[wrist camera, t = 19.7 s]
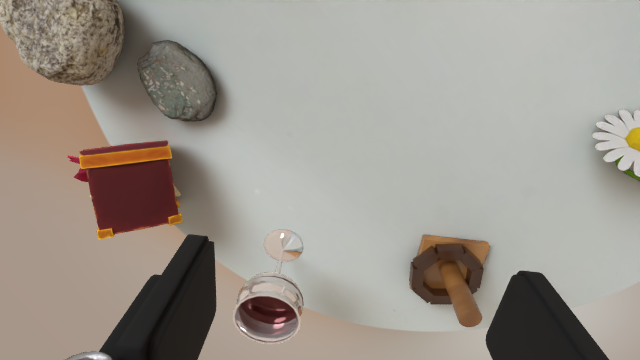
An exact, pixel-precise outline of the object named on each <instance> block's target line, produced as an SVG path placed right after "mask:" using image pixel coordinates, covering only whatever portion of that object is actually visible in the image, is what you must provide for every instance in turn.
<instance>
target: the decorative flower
mask: <svg viewBox="0 0 640 360" xmlns="http://www.w3.org/2000/svg"><path fill="white" fill-rule="evenodd" d="M619 115H620V117H621V118H622V120H623V122H624V123H623V122H622V121H621V120H619V119H618V118H617V117H615V116H613V115H611V114H609V115H606V116H605V119H606V120H607V121H608V122H609V123H611V124H612V125H611V124H608V123H606V122H598V123H596V127H598V128H599V129H602V130H604V131H607V132H610V133H612V134H610V133H602V132H597V133H593V135H592V137H593V139H596V140H603V141H608V142H601V143H598V144H596V145H595V149H597V150H598V151H605V150H610V149H615V150H613V151H611V152H609V153H608V154H606V155H605V156H604V157H603V159H604V161H605V162H608V163H609V162H613V161H615V160H616V164H617V167H618V169H619V170H620V171H623V172H625V173H626V174H628V175H630V176H632V177H633V178H635V179H637V180H639V181H640V110H635V111H634V113H633V116H634V119H633V118H632V116H631V114H630V113H629V112H628V111H627V110H623V109H621V110H620V111H619ZM633 161H634V169H633V171H634V172H632V171H630V170H628V169H629V167H630V166H631V164H632V163H633Z"/></svg>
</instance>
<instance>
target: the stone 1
mask: <svg viewBox="0 0 640 360" xmlns="http://www.w3.org/2000/svg"><path fill="white" fill-rule="evenodd" d="M0 24H1V26H2V28H3V29H4V32H5V33H6V34H7V36H8V37H9V38H10V39H12V40H13V41H14V42H15V44H16V46H17V50H18V52H19V55H20V57H21V59H22V61H23V62H24V63H25V64H26V65H27V66H28V67H29V68H31V69H33V70H34V71H35V72H37V73H39V74H40V75H42V76H43V77H46V78H47V79H49V80H51V81H55V82H60V83H66V84H73V85H93V84H95V83H98V82H100V81H101V80H102V79H103V78H104V77H106V76H107V75H108V73H110V72H111V70H112V69H113V68H114V67H115V63H116V60H117V59H118V57H119V56H120V54H121V49H122V45H123V41H124V31H125V29H124V20H123V14H122V11H121V8H120V6H119V4H118V3H117V1H116V0H0Z"/></svg>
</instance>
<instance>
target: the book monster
mask: <svg viewBox="0 0 640 360" xmlns="http://www.w3.org/2000/svg"><path fill="white" fill-rule="evenodd" d="M68 158H70V159H71V160H70V161H72V162H75V163H79V164H80V166H81V168H80V170H79V172H78V173H77V174H76V175H75V176H74V178H76V179H79V180H81V181H84V182H89V187H90V193H91V195H90V197H91V198H92V202H93V206H94V211H95V215H96V219H97V223H98V230H97V236H98V239H105V238H110V237H114V235H115V234H118V233H123V232H128V231H135V230H140V229H145V228H149V227H154V226H158V225H163V224H169V225H174V224H177V223H181V222H183V220H182V215H181V214H180V213H179V212H178V208H179V207H180V206H179V202H178V201H177V200H176V197H177V196H181V194H180V193H179V191H178V190H177V188H176V187H175V185H174V184H173V178H172V173H171V168H170V162H169V159H171V158H172V155H171V150H170V146H169V145H168V141H167V140H166V141H157V142H146V143H135V144H125V145H117V146H110V147H102V148H95V149H87V150H83V151H81V152H80V156H79V158H78V157H73V156H68Z"/></svg>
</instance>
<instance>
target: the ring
mask: <svg viewBox="0 0 640 360" xmlns="http://www.w3.org/2000/svg"><path fill="white" fill-rule="evenodd" d="M439 260H460V261H461V262H462V263H463V264H464V265H465V266H467V272H466V278H465V281H466V283H467V285H468V287H469V289H470V291H471V294H473V293H475V292H476V291H477V288H480V284H481V280H482V275H483V270H484V269H483V267H482V264H481V262H480V260H479V259H478V258H477V257H476V256H475V255H474V254H473V253H472V252H471V251H470V250H469V249H467V248H466V247H465V246H464V245H463V246H461V244H435V248H434V247H433V246H430V247H429V248H427V249H426V250H425V251H423V252H422V253H421V254H419V255H418V256H417V257H415V258H414V259H413V261H414V262H411V267H410V278H409V281H410V285H411V288H412V290H413V291H414V292H415V293H416V294H417V295H419V296H420V297H421V298H422V299H424V300H425V301H426V302H427V303H429V302H430V303H431V304H452V302H451V300H450V297H449V295H448V292H447V290H446V288H431V287H430V286H428V285H427V284H426V283H425V282H424V281H423V279H424V271H425V270H427V269H428V268H429V267H431V266H432V265H434V264H435V263H436V262H438V261H439Z"/></svg>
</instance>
